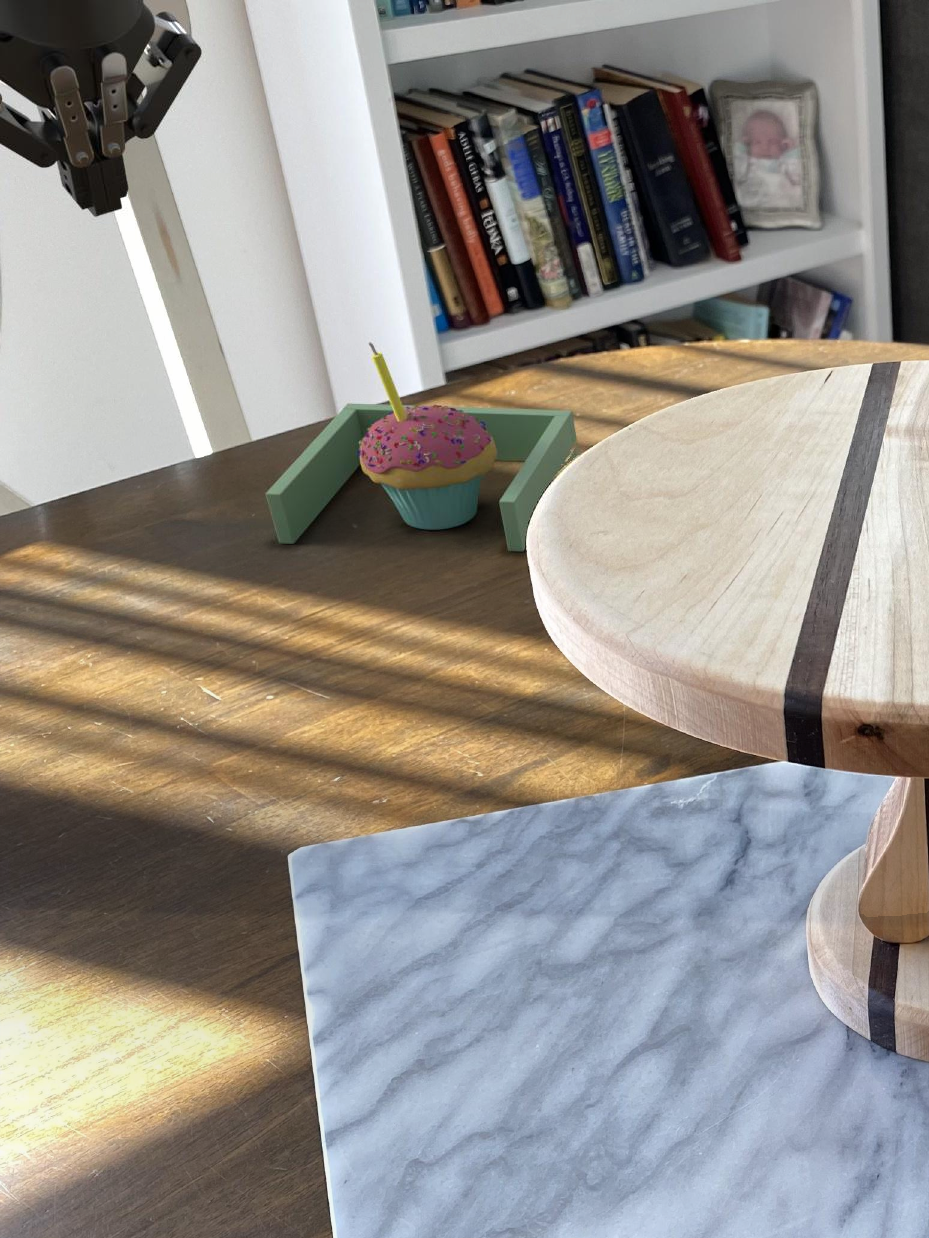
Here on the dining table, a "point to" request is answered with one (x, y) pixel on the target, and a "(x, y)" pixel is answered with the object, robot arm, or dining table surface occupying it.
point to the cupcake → (427, 459)
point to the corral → (336, 448)
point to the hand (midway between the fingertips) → (98, 202)
